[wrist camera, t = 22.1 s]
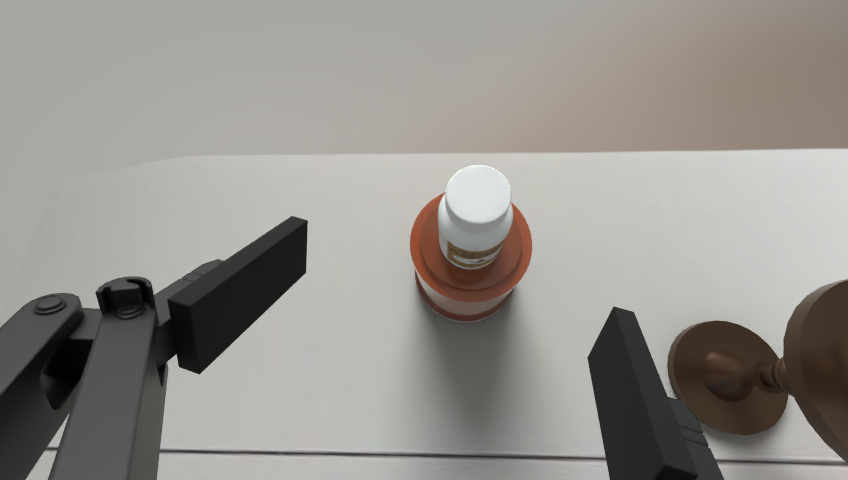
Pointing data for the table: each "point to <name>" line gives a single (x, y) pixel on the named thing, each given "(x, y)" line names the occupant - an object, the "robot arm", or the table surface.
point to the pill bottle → (474, 216)
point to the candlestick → (769, 370)
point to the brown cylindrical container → (466, 270)
